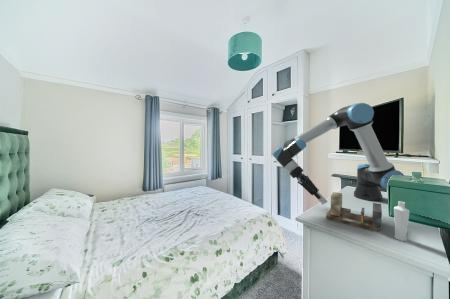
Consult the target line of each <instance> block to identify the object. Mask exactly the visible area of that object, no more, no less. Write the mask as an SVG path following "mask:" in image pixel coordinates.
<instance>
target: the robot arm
mask: <svg viewBox="0 0 450 299" xmlns="http://www.w3.org/2000/svg"><path fill="white" fill-rule="evenodd" d="M374 115H375V111H374V109H373V107H372V106H371V105H369V103H365V102H359V103H354V104H351V105H347V106H344V107H341V108H340V109H338V110H336V111H335V112H334V113H331V114H329V116H326V118H325V119H324V120H323V121H320V122H319V123H318V124H316V125H314V126H312V127H310V128H309V129H306V130H305V131H303V132H301V133H300V134H298V135H296V136H295V137H293V138H291V139H289V140H286V141H284V142H283V143H282V147H278V148H276V150H274V152H273V153H272V156H273V157H274V158H275V160H276V161H277V162H278V163H279V164H280V166H282V167H283V168H284V169H285V171H286V172H287V173H288V174H289V175H290V176H291V177H292V178H293V179H295V178H296V180H297V183H298V184H299V185H300V186H302V188H304V190H306V192H308V193H309V194H310V196H314V197H315V198H316V199H317V201H318V202H320V204H322V205H325V204H327V203H328V200H327V198H325V197H324V196H323V195H322V194H321V193H320V192H319V191H320V190H319V188H318V187H317V186H316V184H315V183H313V181H312V180H311V179H310V178H309V176H308V175H306V174H304V173H303V172H304V169H303V168H302V167H301V166H299V164H298V163H297V162H296V161H295V159H293V158H294V157H295V156H297V155H298V154H299V153H301V152H302V151H303V150H304V149H305V148H306V147H307V144H308V143H310V142H312V141H313V140H314V139H317V138H318V137H321V136H322V135H324V134H326V133H328V132H329V131H331V130H336V129H338V128H341V127H344V126H347V127H348V129H349V131H352V132H353V133H354V135H355V138H356V139H357V141H358V144H359V146H360V148H361V149H362V151H363V154H364V157H365V158H366V161H367V163H359V164H357V168H356V170H357V171H356V172H357V173H356V178H357V179H356V186H355V189H354V191H353V196H354V198H358V199H360V200H364V201H371V202H380V201H383V200H384V199H383V195H382V194H383V193H382V191H381V189H385V190H388V189H387V183H388V180H389V179H390V177H391V176H392V175H402V176H404V177H405V175H404V173H403V172H401V171H400V170H397V169H396V168H395V166H394V164H393V163H392V162H390V161H388V159H387V156H386V155H385V154H386V153H385V152H384V149H383V148H382V146H381V144H380V142H379V139H378V138H377V135H376V133H375V131H374V129H373V126H372V125H373V123H374V120H373V118H374Z"/></svg>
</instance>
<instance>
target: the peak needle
mask: <svg viewBox="0 0 450 299" xmlns="http://www.w3.org/2000/svg"><path fill="white" fill-rule="evenodd" d="M360 211H361V212H360V215H361V223H363V220H364V216H365V211H366V210H365V207H361V210H360Z"/></svg>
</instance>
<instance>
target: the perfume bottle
mask: <svg viewBox="0 0 450 299" xmlns="http://www.w3.org/2000/svg"><path fill="white" fill-rule="evenodd" d="M397 202H398V203H397V205H396V206H394V207H393V217H394V218H393V219H394V234H393V235H394V236H393V238H394V239H397V240H398V241H403V242H404V241H405V242H406V241H408V239H407V232H408V224H409V220H410V212H411V211H410V209H408V208H406V202H405V201H400V200H399V201H397Z"/></svg>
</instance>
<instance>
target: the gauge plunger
mask: <svg viewBox="0 0 450 299" xmlns="http://www.w3.org/2000/svg"><path fill="white" fill-rule="evenodd" d="M330 208H331V215H335V216H340V215H341V213H342V212H347V213H352V209H351V208H345V207H343V192H342V193H341V192H335V191H333V192H332V193H331V195H330Z"/></svg>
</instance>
